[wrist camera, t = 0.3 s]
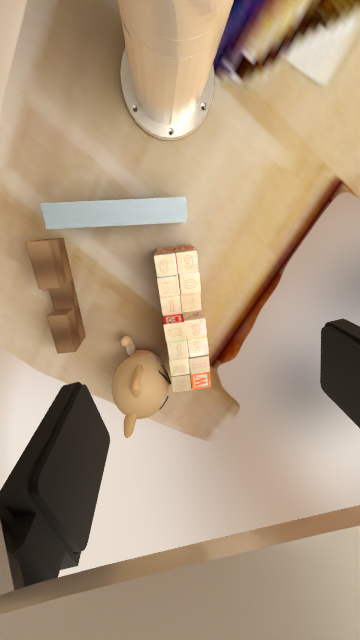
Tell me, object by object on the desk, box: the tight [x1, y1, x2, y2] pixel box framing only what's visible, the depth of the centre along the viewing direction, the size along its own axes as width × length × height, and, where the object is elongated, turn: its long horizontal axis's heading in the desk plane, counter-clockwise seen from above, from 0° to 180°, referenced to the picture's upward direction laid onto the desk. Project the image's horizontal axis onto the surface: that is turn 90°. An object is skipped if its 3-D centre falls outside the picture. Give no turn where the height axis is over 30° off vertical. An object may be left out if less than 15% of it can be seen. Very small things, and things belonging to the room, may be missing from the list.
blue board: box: [40, 197, 187, 229], centre depth 34 cm, size 18×3×9 cm, turn 93°
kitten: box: [112, 336, 171, 438], centre depth 42 cm, size 15×10×15 cm
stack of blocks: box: [154, 245, 211, 392], centre depth 39 cm, size 21×6×12 cm, turn 6°
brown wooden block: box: [26, 238, 86, 353], centre depth 39 cm, size 18×3×6 cm, turn 3°
